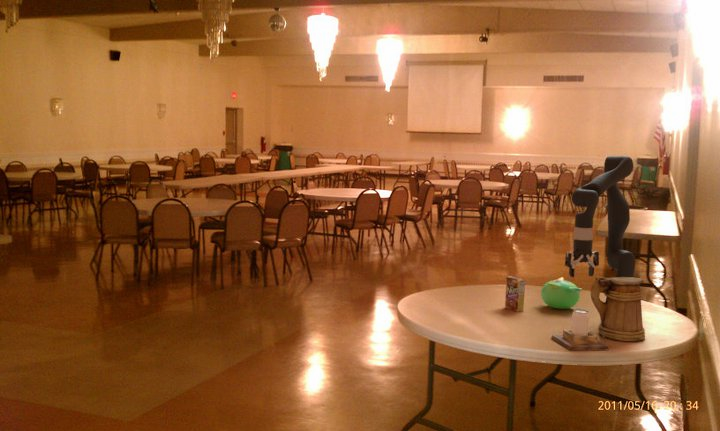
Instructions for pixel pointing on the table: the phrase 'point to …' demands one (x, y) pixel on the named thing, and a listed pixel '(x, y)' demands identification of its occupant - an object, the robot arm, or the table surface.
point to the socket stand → (579, 341)
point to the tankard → (619, 308)
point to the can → (580, 322)
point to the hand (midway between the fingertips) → (581, 276)
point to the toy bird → (560, 294)
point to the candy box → (515, 293)
